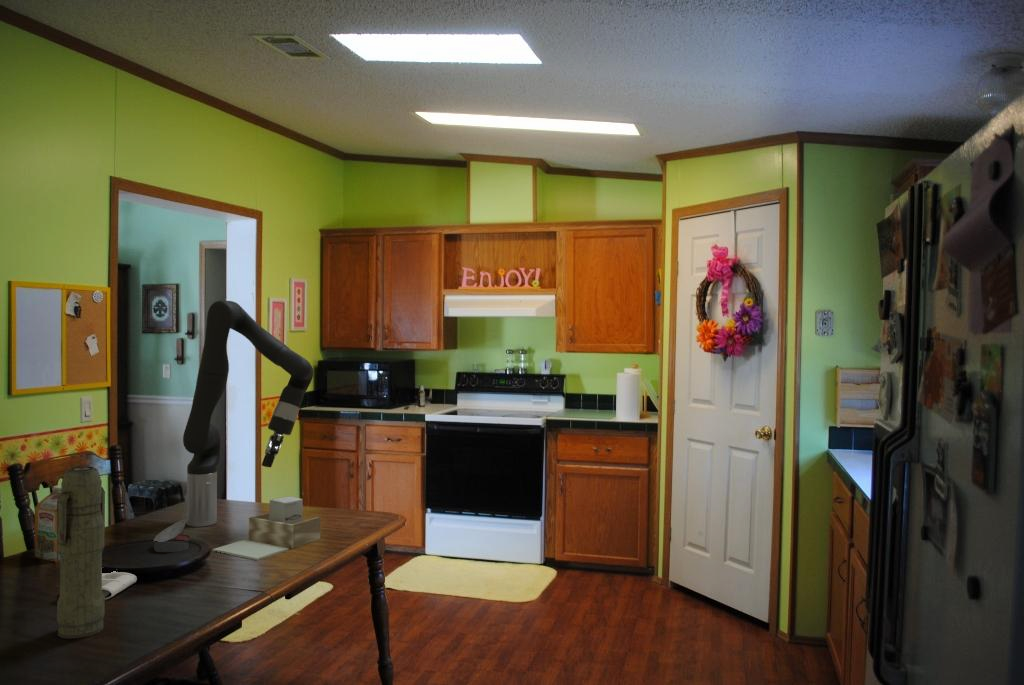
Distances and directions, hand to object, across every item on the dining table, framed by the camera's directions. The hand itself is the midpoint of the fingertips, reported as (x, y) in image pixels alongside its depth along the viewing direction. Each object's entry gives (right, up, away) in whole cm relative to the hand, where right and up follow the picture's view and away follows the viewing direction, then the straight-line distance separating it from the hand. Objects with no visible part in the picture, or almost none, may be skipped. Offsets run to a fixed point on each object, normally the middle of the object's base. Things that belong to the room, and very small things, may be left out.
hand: (266, 466), depth 243 cm
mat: (+1, -22, -18) cm, 28 cm away
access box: (+8, -22, -5) cm, 24 cm away
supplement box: (+8, -22, -5) cm, 24 cm away
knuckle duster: (-25, -23, -53) cm, 63 cm away
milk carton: (-50, -22, -24) cm, 60 cm away
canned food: (-23, -22, -16) cm, 35 cm away
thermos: (-15, -23, -78) cm, 83 cm away
